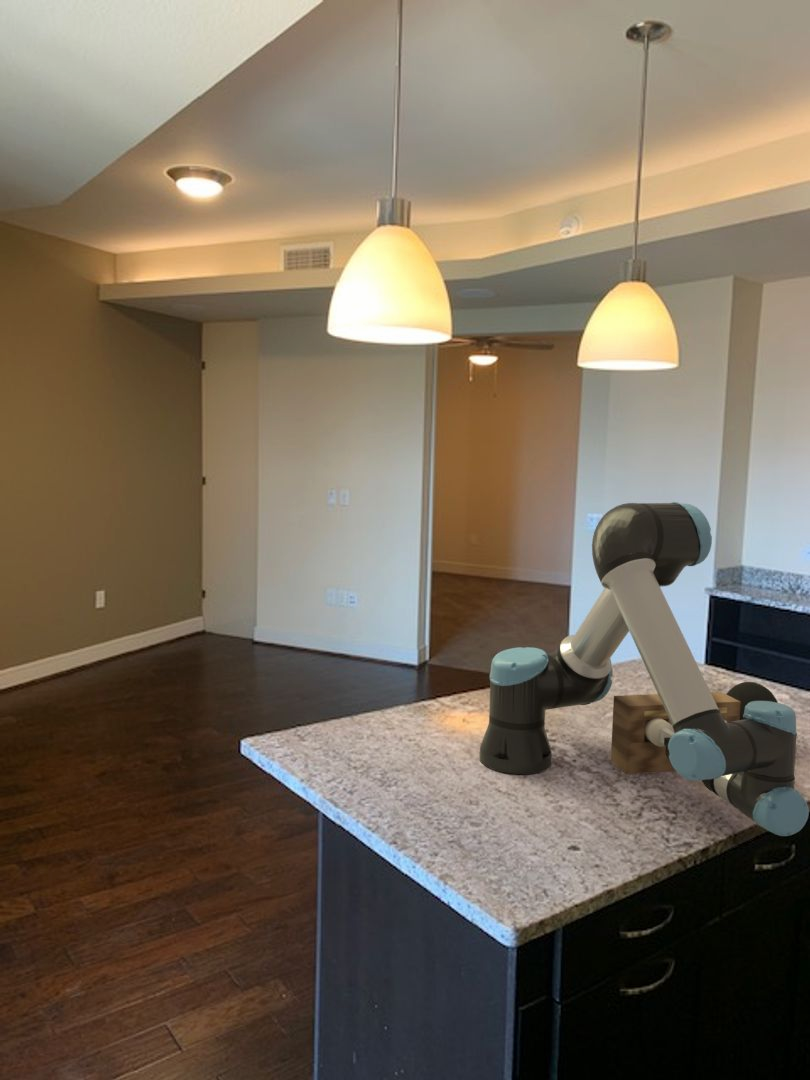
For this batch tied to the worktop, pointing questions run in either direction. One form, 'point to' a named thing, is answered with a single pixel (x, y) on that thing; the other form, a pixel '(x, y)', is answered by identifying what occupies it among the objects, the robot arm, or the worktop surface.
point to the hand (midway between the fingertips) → (663, 735)
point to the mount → (629, 731)
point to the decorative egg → (750, 694)
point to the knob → (656, 730)
